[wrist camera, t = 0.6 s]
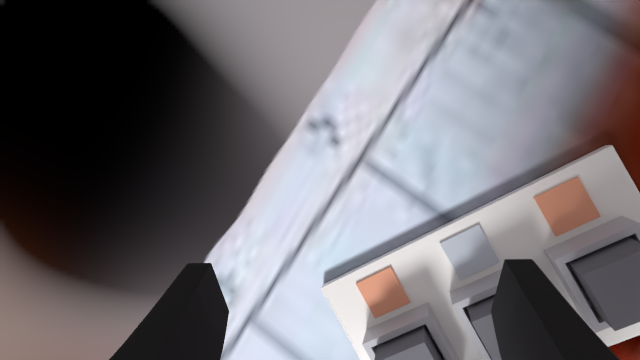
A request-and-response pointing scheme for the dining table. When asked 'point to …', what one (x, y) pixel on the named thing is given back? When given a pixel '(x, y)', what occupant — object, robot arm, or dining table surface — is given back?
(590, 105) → the dining table surface
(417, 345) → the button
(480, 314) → the button middle
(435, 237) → the button board
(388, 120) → the dining table surface
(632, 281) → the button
